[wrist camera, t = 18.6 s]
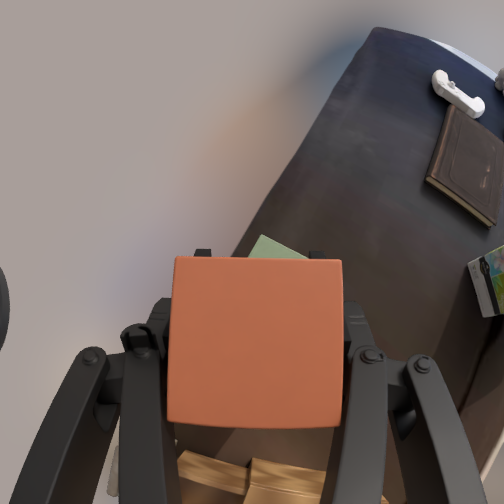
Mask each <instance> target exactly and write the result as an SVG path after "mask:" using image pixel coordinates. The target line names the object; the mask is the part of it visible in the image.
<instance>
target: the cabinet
mask: <svg viewBox="0 0 504 504" xmlns="http://www.w3.org/2000/svg"><path fill="white" fill-rule="evenodd" d="M248 469H250V474H249V484H248V490H247V492H246V495H245V498H244V500H243V503H242V504H319V503H320V498H321V494H322V490H323V485H324V481H325V476H326V471H319V470H312V469H306V468H301V467H295V466H290V465H285V464H280V463H275V462H271V461H266V460H262V459H258V458H254V457H252V460H251V462H250V465H249V468H248ZM381 504H388V501H387V500H386V499H385V498H384V497H383V496H382V499H381Z"/></svg>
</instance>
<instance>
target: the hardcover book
mask: <svg viewBox="0 0 504 504" xmlns="http://www.w3.org/2000/svg"><path fill="white" fill-rule="evenodd" d="M503 179H504V143H503V142H502V141H501V140H500V139H499V138H497V137H496V136H495V135H494V134H492V133H491V132H490V131H489V130H487V129H486V128H485V127H483V126H482V125H481V124H480V123H478V122H477V121H476V120H474V119H473V118H471V117H470V116H469V115H467V114H466V113H464V112H463V111H462V110H460V109H459V108H457V107H456V106H454V105H452V104H450V105H449V106H448V108H447V111H446V115H445V118H444V122H443V125H442V129H441V132H440V135H439V138H438V142H437V145H436V148H435V151H434V154H433V157H432V160H431V163H430V166H429V168H428V171H427V174H426V177H425V182H426V183H428V184H429V185H430V186H432V187H433V188H435V189H436V190H438V191H439V192H441V193H442V194H443V195H445V196H446V197H448V198H449V199H450V200H452V201H453V202H454V203H456V204H457V205H459V206H460V207H461V208H463V209H464V210H465V211H466V212H468V213H469V214H470V215H472V216H473V217H474V218H476V219H477V220H478V221H479V222H481V223H482V224H483V225H484V226H486V227H487V228H488V229H489V230H490V228H491V225H495V226H496V224H497V218H498V213H499V207H500V201H501V194H502V187H503Z"/></svg>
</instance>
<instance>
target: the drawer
mask: <svg viewBox="0 0 504 504" xmlns="http://www.w3.org/2000/svg"><path fill="white" fill-rule="evenodd" d="M175 444H177V440H175ZM118 451H119V446H116V448H115V453H114V458H113V462H112V467H111V472H110V476H109V481H108V487H107V494H108V495H110V496H113V497H116V496H118V497H119V495H118ZM177 464H178V473H179V481H180V489H181V497H182V504H242V503H243V500H244V498H245V495H246V492H247V490H248V484H249V474H250V469H248V468H244V467H241V466H237V465H233V464H230V463H226V462H223V461H219V460H216V459H213V458H209V457H206V456H203V455H200V454H197V453H194V452H191V451H188V450H185V451H184V452H183V453H182V455H181V456H180V457H179V458H178V460H177Z"/></svg>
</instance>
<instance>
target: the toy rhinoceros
mask: <svg viewBox="0 0 504 504" xmlns="http://www.w3.org/2000/svg"><path fill="white" fill-rule="evenodd" d="M495 81H496V83H495V87H496V88H497V89H498V90H500V91H501V90H502V89H503V95H504V68H502V69H501V70H500V71H499V74H498V76H497V77H496V78H495Z"/></svg>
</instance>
